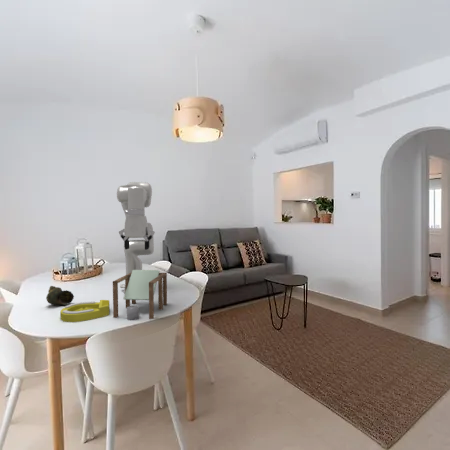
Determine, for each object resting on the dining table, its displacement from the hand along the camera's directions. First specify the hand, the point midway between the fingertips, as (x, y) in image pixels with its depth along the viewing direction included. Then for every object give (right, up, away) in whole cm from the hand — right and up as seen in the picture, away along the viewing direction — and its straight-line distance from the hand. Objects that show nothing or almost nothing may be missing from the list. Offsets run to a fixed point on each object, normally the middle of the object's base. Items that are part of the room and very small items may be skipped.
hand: (136, 249), depth 134 cm
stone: (-1, -26, -4) cm, 27 cm away
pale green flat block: (+1, -21, +10) cm, 23 cm away
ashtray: (-25, -32, 0) cm, 40 cm away
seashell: (-45, -31, +14) cm, 56 cm away
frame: (+1, -31, +6) cm, 31 cm away
